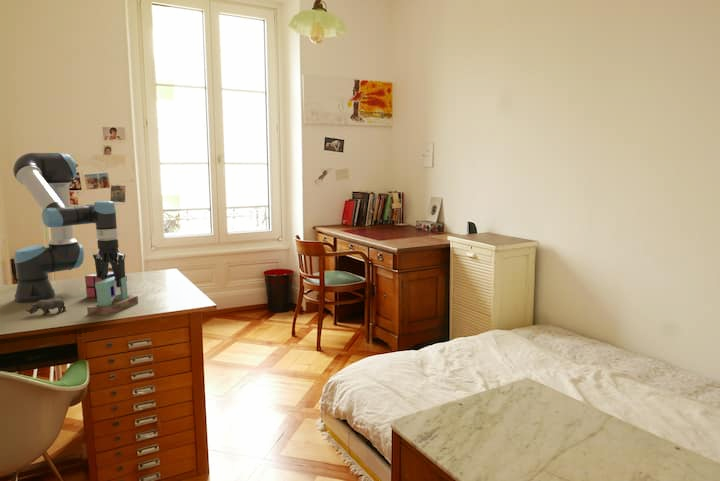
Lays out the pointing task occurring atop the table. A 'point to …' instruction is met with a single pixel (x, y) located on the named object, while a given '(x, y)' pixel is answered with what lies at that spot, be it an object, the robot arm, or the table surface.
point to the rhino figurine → (47, 306)
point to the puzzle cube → (90, 284)
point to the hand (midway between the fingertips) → (112, 294)
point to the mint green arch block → (105, 291)
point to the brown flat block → (112, 306)
